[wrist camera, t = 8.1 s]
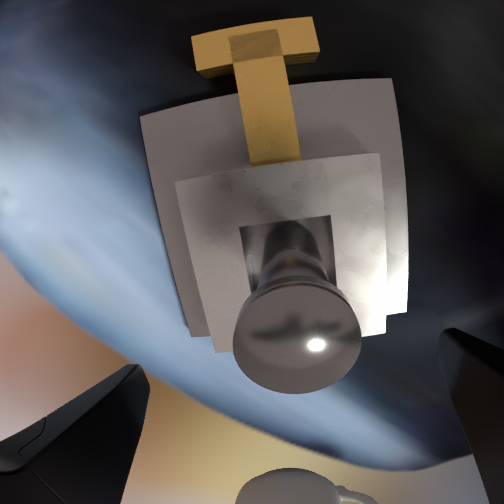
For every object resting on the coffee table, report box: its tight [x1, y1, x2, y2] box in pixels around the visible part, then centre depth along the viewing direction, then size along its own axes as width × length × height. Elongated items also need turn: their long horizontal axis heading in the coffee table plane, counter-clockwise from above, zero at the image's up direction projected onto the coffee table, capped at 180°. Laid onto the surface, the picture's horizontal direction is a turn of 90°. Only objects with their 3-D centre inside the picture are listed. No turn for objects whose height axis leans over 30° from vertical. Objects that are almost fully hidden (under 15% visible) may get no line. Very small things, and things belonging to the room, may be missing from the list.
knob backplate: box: [140, 17, 408, 353], centre depth 16 cm, size 14×17×2 cm
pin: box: [233, 225, 362, 394], centre depth 14 cm, size 4×4×9 cm
